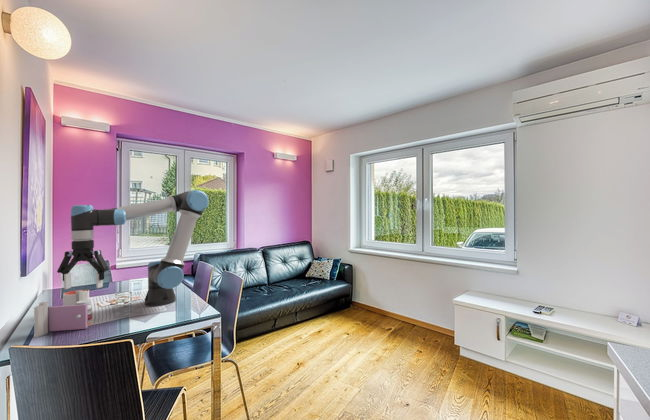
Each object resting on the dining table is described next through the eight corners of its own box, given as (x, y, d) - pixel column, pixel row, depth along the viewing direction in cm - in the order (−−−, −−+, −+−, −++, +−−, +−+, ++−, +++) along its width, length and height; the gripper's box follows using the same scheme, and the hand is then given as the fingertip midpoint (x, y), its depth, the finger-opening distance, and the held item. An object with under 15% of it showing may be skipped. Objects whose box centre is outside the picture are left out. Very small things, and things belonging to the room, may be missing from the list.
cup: (73, 315, 138) (73, 295, 138) (57, 314, 140) (57, 294, 140) (94, 309, 148) (94, 289, 148) (78, 308, 150) (78, 289, 150)
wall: (87, 315, 139) (87, 288, 139) (38, 337, 114) (38, 304, 114) (84, 315, 139) (84, 288, 139) (33, 337, 114) (33, 304, 114)
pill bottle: (72, 326, 124) (72, 301, 125) (90, 322, 129) (90, 298, 129) (75, 330, 120) (75, 304, 121) (93, 325, 125) (93, 300, 125)
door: (83, 330, 120) (83, 306, 120) (42, 333, 117) (42, 308, 117) (87, 327, 123) (87, 304, 123) (48, 330, 120) (48, 306, 120)
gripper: (117, 238, 129) (118, 284, 129) (61, 239, 128) (62, 286, 128) (105, 240, 122) (106, 289, 122) (45, 241, 121) (46, 291, 121)
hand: (83, 288), depth 125 cm, fingers open, 13 cm apart
